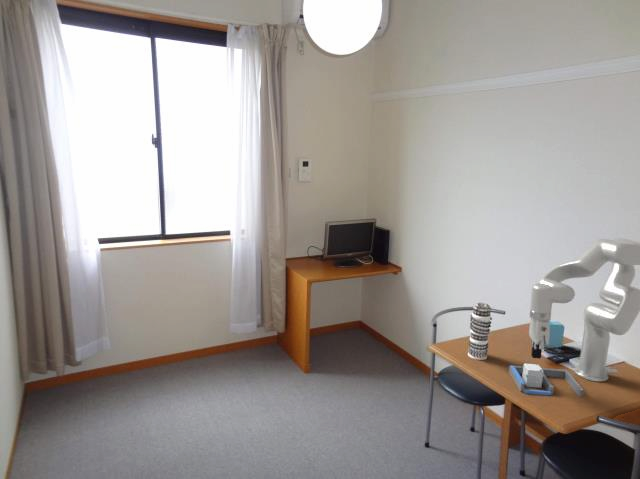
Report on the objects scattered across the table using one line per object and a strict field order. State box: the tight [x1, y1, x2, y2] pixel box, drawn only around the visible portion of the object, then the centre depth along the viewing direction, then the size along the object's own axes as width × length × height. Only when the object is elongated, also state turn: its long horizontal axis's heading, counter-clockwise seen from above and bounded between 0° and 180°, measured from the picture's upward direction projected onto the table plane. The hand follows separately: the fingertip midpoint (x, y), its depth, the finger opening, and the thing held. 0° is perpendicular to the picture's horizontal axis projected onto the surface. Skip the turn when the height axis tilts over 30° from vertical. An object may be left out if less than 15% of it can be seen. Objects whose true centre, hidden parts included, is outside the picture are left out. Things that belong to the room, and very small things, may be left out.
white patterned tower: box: [467, 302, 493, 361], centre depth 203 cm, size 9×9×25 cm
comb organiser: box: [508, 365, 585, 398], centre depth 181 cm, size 23×17×4 cm
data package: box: [544, 320, 565, 349], centre depth 217 cm, size 12×4×12 cm, turn 89°
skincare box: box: [521, 363, 543, 389], centre depth 181 cm, size 6×6×7 cm
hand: (536, 357), depth 180 cm, fingers closed
